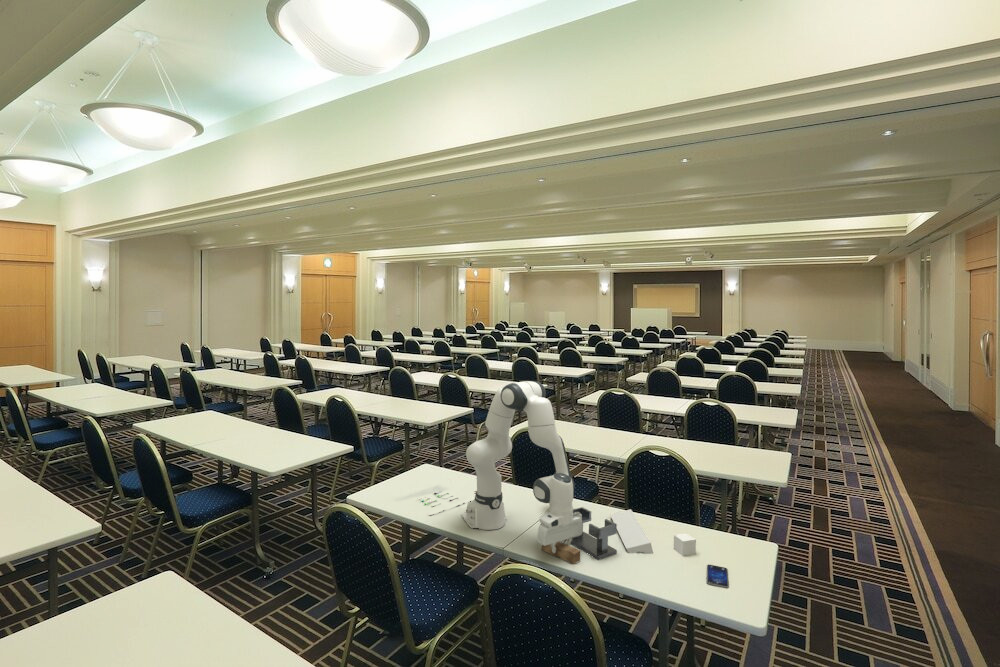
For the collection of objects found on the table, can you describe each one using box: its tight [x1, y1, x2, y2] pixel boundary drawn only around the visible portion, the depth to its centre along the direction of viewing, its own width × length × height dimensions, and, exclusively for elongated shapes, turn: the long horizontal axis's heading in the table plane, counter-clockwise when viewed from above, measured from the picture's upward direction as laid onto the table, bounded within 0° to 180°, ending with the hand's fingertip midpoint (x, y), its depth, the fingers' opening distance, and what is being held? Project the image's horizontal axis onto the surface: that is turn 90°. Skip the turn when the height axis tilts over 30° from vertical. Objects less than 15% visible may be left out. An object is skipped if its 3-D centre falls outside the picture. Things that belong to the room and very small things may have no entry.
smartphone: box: [705, 564, 730, 589], centre depth 187 cm, size 7×1×15 cm
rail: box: [541, 541, 581, 565], centre depth 202 cm, size 16×4×4 cm, turn 45°
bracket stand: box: [565, 506, 618, 561], centre depth 210 cm, size 21×10×12 cm, turn 33°
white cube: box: [672, 532, 697, 557], centre depth 207 cm, size 6×6×6 cm
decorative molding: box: [609, 509, 654, 554], centre depth 222 cm, size 34×5×10 cm
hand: (560, 550), depth 202 cm, fingers closed on rail, 4 cm apart
